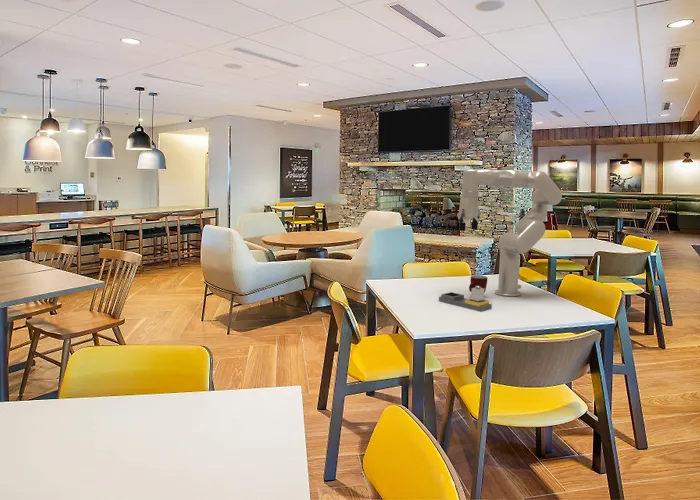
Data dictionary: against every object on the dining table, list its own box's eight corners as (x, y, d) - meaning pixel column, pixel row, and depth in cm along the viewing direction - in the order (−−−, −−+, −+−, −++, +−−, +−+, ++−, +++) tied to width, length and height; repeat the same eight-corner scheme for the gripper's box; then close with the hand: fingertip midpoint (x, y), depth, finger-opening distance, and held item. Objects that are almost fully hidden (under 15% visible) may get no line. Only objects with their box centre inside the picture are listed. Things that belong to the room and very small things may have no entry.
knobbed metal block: (476, 301, 228) (477, 285, 226) (483, 303, 224) (484, 286, 223) (470, 303, 225) (471, 286, 224) (478, 305, 222) (479, 287, 221)
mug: (477, 300, 240) (478, 279, 238) (463, 296, 246) (464, 277, 244) (489, 296, 247) (490, 277, 246) (475, 293, 253) (476, 274, 251)
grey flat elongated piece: (449, 298, 242) (449, 291, 241) (491, 308, 224) (491, 301, 223) (438, 301, 237) (439, 293, 236) (481, 311, 219) (481, 303, 218)
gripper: (474, 194, 248) (472, 228, 250) (452, 195, 237) (451, 230, 239) (487, 195, 242) (485, 229, 245) (465, 195, 231) (463, 231, 234)
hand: (468, 230), depth 242 cm, fingers open, 9 cm apart
